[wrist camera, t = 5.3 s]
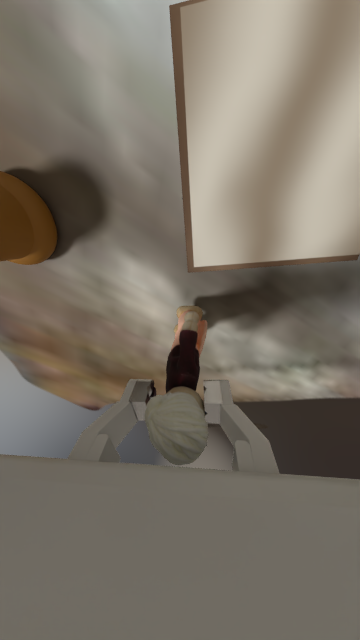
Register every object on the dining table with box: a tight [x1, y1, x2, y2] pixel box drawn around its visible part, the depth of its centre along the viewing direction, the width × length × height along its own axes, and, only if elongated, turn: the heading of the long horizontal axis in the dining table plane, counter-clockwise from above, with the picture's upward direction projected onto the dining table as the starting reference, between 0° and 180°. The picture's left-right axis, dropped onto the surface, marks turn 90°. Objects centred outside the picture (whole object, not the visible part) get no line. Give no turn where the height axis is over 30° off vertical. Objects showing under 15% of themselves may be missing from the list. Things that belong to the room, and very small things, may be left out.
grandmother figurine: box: [144, 306, 208, 465], centre depth 13 cm, size 8×4×13 cm, turn 0°
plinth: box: [169, 0, 360, 273], centre depth 12 cm, size 12×12×5 cm
